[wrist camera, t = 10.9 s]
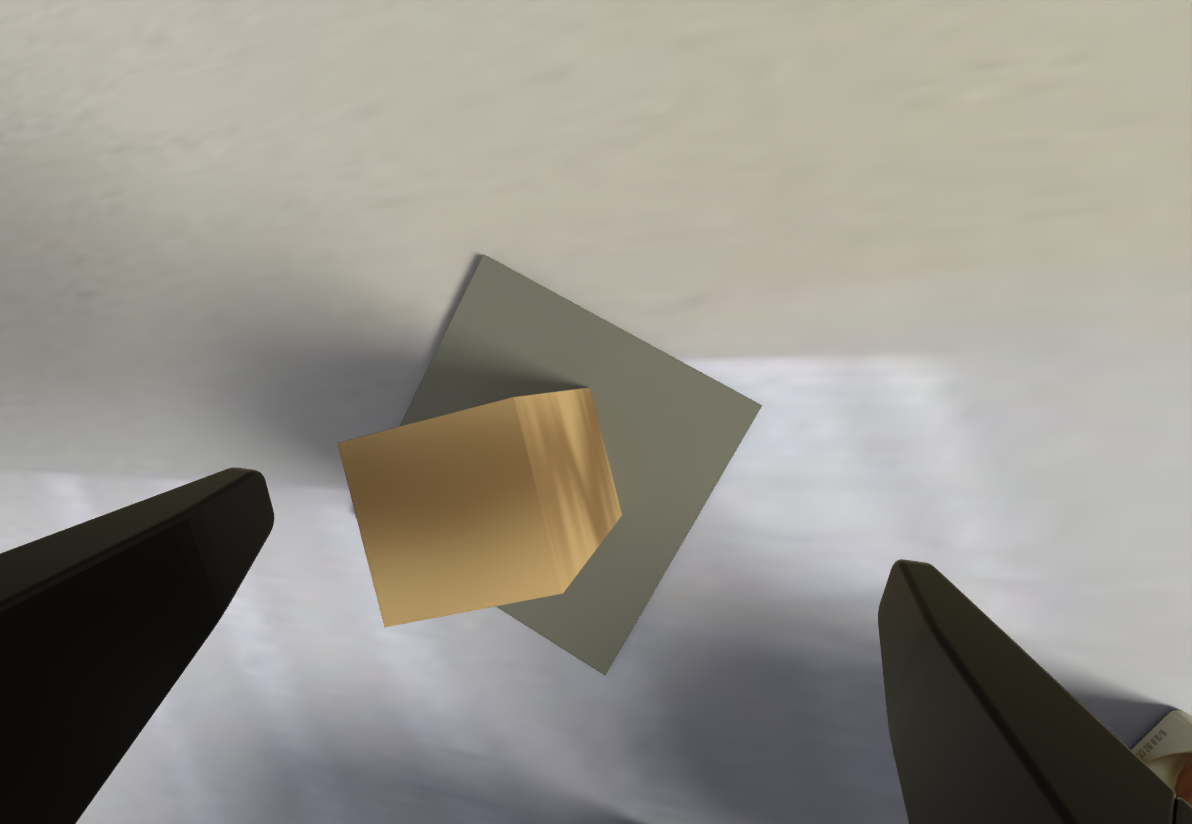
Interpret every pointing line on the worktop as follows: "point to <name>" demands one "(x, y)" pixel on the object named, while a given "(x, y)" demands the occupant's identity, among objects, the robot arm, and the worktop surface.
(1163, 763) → the coffee box
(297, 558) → the worktop surface
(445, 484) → the oak block
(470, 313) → the slate mat
